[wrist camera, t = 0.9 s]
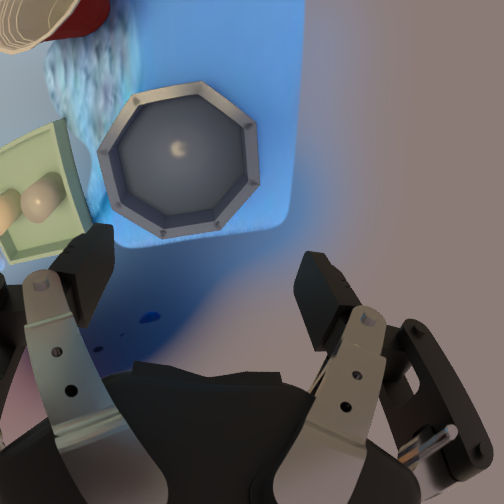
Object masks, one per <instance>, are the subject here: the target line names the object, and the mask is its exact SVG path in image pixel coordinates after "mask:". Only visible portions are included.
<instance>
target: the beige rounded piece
mask: <svg viewBox="0 0 504 504" xmlns="http://www.w3.org/2000/svg"><path fill="white" fill-rule="evenodd" d="M66 194H67V193H66V190H65V187H64V183H63V180H62V177H61V175H59V174H58V173H55V172H49V173H46V174H45V175H44V176H42V177H41V178H40V179H38V180H37V181H36V182H34V183H33V184H32V185H31V186H29V187H28V188H27V189H26V190H25V191H24V192H23V193H22V195H21V200H20V204H21V209H22V211H23V213H24V215H25V217H26V218H27V219H28V220H30V221H31V222H33V223H42V222H44V221H45V220H46V219H47V218H48V217H49V216H50V215H51V213H52V212H53V211H54V210H55V209H56V208H57V207H58V206H59V205H60V204H61V203H62V202H63V201H64V199H65V197H66Z"/></svg>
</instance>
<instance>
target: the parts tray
mask: <svg viewBox="0 0 504 504" xmlns="http://www.w3.org/2000/svg"><path fill="white" fill-rule="evenodd" d="M49 172H55V173H58V174H59V175H61V177H62V180H63V183H64V187H65V190H66V193H67V194H66V197H65V199H64V201H63V202H62V203H61V204H60V205H59V206H58V207H57V208H56V209H55V210H54V211H53V212H52V213H51V215H50V216H49V217H48V218H47V219H46V220H45V221H44V222H42V223H33V222H31V221H30V220H28V219H27V218H26V217H25V215H24V213H22V215H21V216H20V217H19V218H18V219H17V220H16V221H15V222H14V223H13V224H12V225H11V226H10V227H9V228H8V229H7V230H6V231H5V233H4V234H3V235H1V236H0V246H1V248H2V250H3V252H4V254H5V256H6V258H7V260H8V262H9V264H10V265H12V264H16V263H21V262H25V261H30V260H34V259H39V258H43V257H48V256H52V255H58V254H60V253H61V252H63V250H64V249H65V247H67V245H68V244H69V243H70V242H71V240H72V239H73V238H75V237H77V236H78V235H80V234H82V233H86V232H87V231H88V230H89V229H90V228H91V227H92V225H93V221H92V218H91V215H90V212H89V209H88V206H87V203H86V200H85V197H84V194H83V191H82V187H81V184H80V181H79V177H78V173H77V169H76V166H75V162H74V158H73V154H72V150H71V145H70V141H69V136H68V131H67V126H66V121H65V118H63V119H60V120H57V121H54V122H51V123H49V124H47V125H45V126H42V127H40V128H38V129H36V130H34V131H32V132H30V133H28V134H25V135H24V136H22V137H20V138H18V139H16V140H14V141H12V142H10V143H8V144H6V145H5V146H3V147H1V148H0V195H1V194H2V193H3V192H5V191H6V190H7V189H10V188H12V189H15V190H17V191H18V192H19V193H20V195H22V193H23V192H24V191H25V190H26V189H27V188H28V187H29V186H31V185H32V184H33V183H34V182H36V181H37V180H38V179H40V178H41V177H42V176H44V175H45V174H46V173H49Z"/></svg>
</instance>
